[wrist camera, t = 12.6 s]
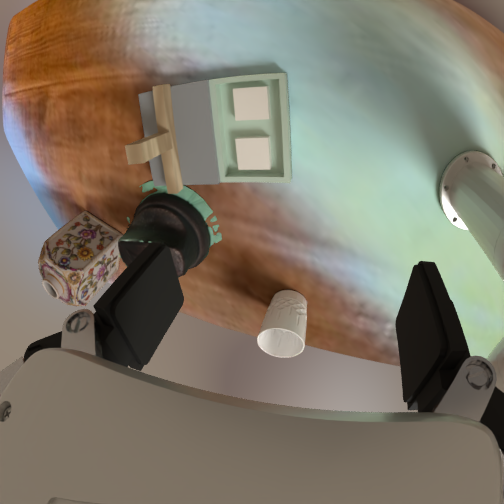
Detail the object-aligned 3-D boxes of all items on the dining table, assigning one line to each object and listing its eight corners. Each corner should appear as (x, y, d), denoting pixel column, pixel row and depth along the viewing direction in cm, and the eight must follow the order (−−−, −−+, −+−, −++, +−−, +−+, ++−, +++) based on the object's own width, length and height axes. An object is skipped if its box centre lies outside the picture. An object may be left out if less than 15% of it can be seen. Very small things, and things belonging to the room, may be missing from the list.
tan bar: (172, 83, 31) (133, 87, 24) (185, 188, 40) (154, 215, 33) (157, 86, 32) (117, 91, 25) (172, 188, 41) (139, 214, 34)
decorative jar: (85, 208, 52) (26, 253, 37) (125, 233, 53) (68, 288, 38) (83, 246, 59) (35, 292, 44) (118, 270, 60) (73, 323, 45)
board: (214, 79, 33) (206, 79, 30) (225, 177, 41) (218, 184, 39) (149, 92, 36) (138, 94, 33) (163, 179, 44) (154, 186, 41)
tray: (287, 73, 30) (284, 72, 29) (292, 177, 39) (290, 182, 37) (214, 79, 33) (208, 79, 31) (225, 177, 41) (220, 182, 39)
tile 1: (232, 88, 32) (236, 88, 33) (235, 120, 34) (238, 119, 35) (266, 86, 30) (269, 86, 32) (269, 119, 33) (271, 118, 34)
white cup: (285, 322, 55) (276, 362, 47) (260, 297, 53) (247, 337, 45) (318, 307, 51) (313, 350, 43) (293, 280, 49) (284, 322, 41)
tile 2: (235, 138, 35) (238, 136, 37) (238, 169, 38) (241, 166, 39) (268, 137, 34) (270, 135, 36) (270, 169, 37) (272, 166, 38)
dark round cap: (146, 271, 58) (124, 299, 50) (116, 186, 47) (84, 208, 40) (231, 276, 52) (214, 311, 45) (209, 173, 42) (182, 196, 34)
